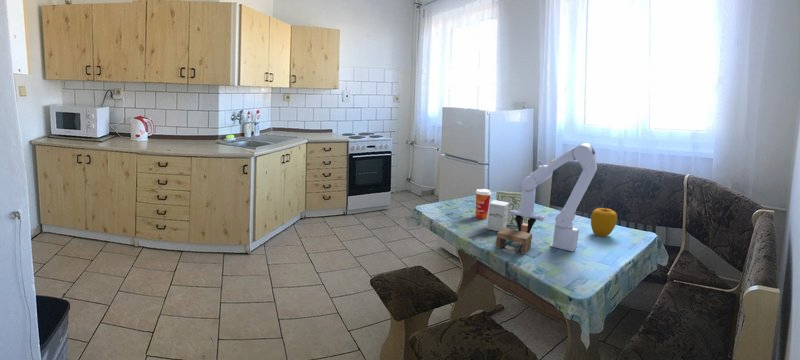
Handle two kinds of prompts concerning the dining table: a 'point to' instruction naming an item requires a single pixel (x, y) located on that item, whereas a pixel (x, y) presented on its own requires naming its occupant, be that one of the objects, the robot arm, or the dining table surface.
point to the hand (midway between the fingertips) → (524, 233)
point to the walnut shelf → (514, 238)
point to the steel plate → (510, 249)
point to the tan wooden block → (523, 229)
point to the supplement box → (497, 215)
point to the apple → (603, 221)
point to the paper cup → (482, 203)
